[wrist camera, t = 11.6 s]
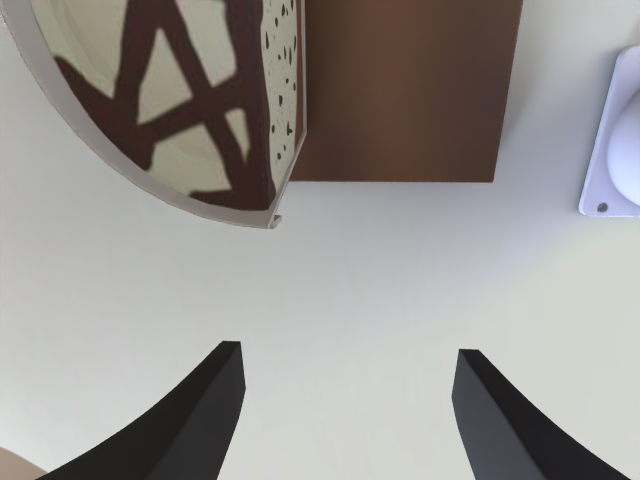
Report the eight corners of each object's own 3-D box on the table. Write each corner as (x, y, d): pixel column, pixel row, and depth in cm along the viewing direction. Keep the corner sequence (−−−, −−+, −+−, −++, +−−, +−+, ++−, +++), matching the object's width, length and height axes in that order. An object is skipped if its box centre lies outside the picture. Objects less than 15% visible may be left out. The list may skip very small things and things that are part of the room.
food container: (141, -161, 15) (-197, -537, 6) (302, -168, 14) (219, -584, 5) (185, 162, 20) (43, 242, 11) (307, 164, 19) (269, 248, 10)
